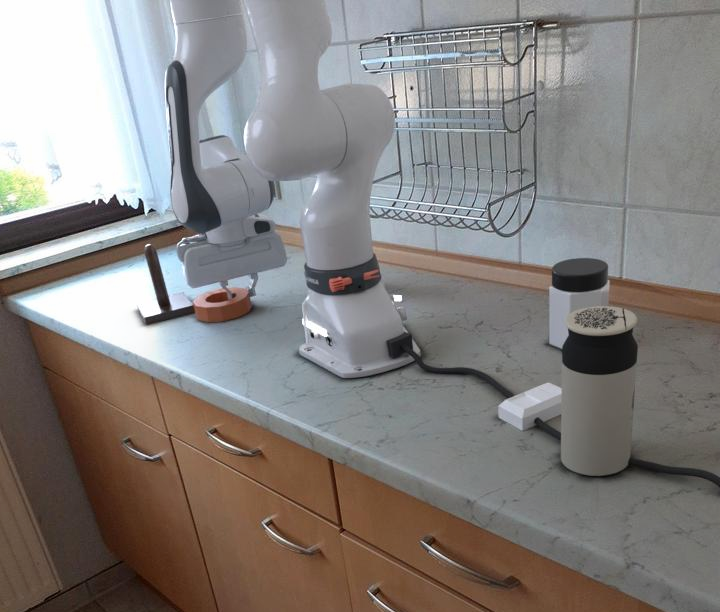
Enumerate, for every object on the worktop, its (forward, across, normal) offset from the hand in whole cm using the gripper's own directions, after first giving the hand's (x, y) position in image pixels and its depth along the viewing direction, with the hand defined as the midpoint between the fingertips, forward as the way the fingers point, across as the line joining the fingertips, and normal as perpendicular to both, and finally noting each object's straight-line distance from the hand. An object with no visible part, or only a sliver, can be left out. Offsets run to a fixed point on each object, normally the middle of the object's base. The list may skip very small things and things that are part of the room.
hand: (242, 298), depth 157 cm
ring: (+2, -4, 0) cm, 5 cm away
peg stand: (+2, -14, +9) cm, 17 cm away
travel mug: (+2, +21, -85) cm, 88 cm away
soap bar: (+2, +22, -71) cm, 74 cm away
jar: (+2, +40, -55) cm, 68 cm away
